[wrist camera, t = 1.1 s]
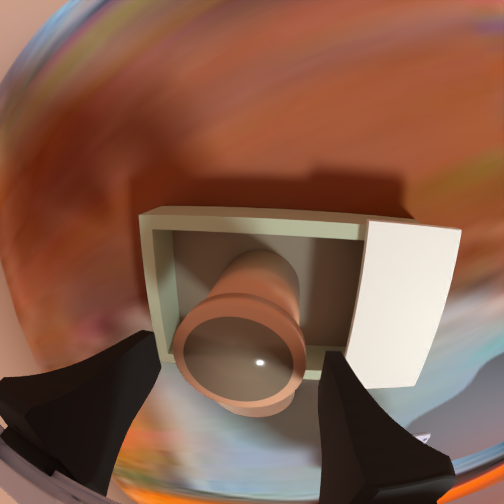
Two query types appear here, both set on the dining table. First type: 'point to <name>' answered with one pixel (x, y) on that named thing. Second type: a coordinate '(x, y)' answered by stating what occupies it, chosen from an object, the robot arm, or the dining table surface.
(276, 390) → the pot
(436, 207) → the dining table surface
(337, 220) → the box with sliding lid
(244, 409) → the saucer
